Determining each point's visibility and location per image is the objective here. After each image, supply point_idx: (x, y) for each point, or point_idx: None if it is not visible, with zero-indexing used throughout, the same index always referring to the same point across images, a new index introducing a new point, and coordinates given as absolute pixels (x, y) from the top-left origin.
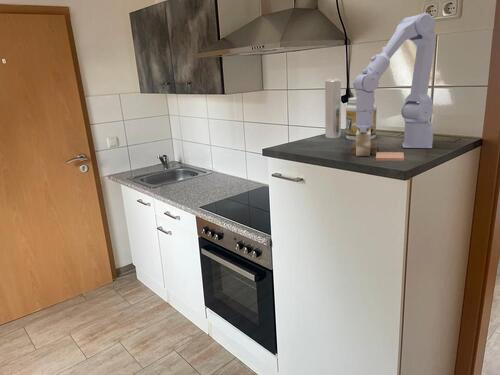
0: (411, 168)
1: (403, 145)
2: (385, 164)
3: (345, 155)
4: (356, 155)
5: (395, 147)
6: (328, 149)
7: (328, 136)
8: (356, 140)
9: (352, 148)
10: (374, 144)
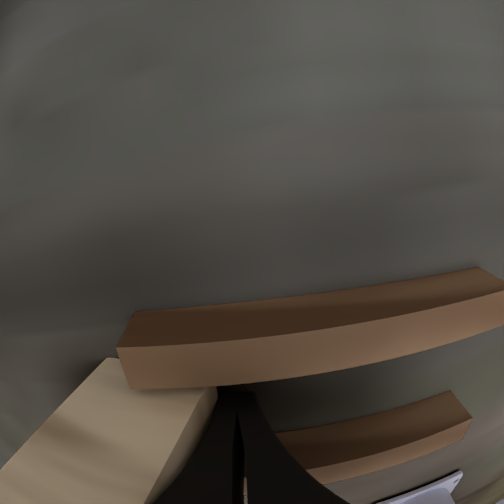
0: None
1: (406, 498)
2: (6, 460)
3: (86, 274)
4: (107, 362)
5: (408, 475)
6: (366, 40)
7: None
8: (18, 455)
9: (124, 359)
10: (317, 476)
